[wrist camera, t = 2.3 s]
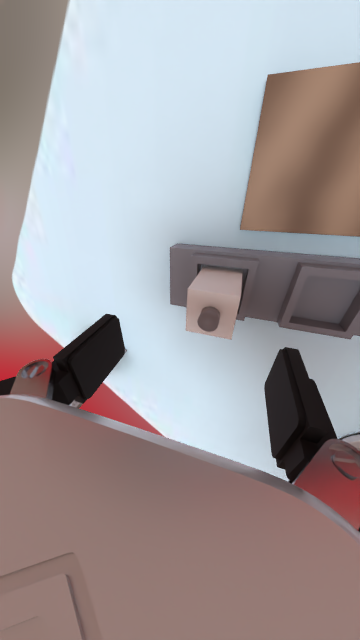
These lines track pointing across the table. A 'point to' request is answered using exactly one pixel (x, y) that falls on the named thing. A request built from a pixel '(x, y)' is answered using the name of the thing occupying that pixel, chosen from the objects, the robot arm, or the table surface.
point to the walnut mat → (307, 154)
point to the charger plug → (214, 301)
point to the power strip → (280, 286)
